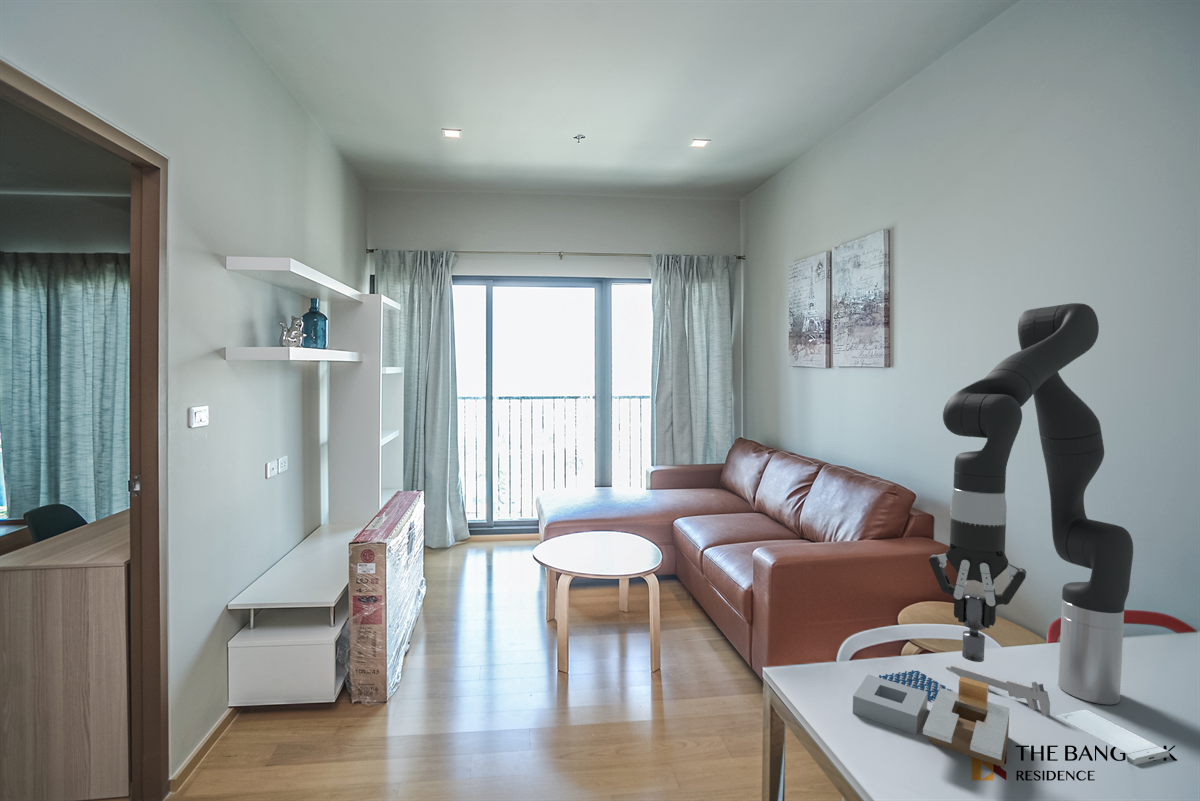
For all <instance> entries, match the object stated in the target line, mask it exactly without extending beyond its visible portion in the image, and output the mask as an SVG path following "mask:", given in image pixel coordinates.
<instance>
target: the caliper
mask: <svg viewBox="0 0 1200 801" xmlns="http://www.w3.org/2000/svg"><path fill="white" fill-rule="evenodd" d="M945 670H949V671H951V673H954V674H955V673H956V675H957V674H958V675H957V676H959V677H965V678H969V679H972V680H976V681H980V682H983V683H987V684H988V686H990V687H994V688H997V689H1001V690H1004V691H1006V692H1008V693H1007V694H1008V696H1009V697H1013V698H1015V699H1025V701H1026V704H1027V705H1028V708H1029V709H1031V710H1033V711H1037V710H1040V713H1041V715H1042V716H1044V717H1049V716H1051V701H1050V698H1049V693H1048V691H1047V690H1045V689H1044V687H1045V686H1044V683H1039V684H1038V683H1037V681H1031V685H1029V684H1026V683H1022V682H1020V681H1019V682H1018V681H1016V680H1011V679H1010V680H1004V679H1000V678H998V677H994V676H991V675H988V674H984V673H982V672H978V671H975V670H972V669H969V668H965V667H961V666H958V665H956V664H953V665H950V666H946V667H945ZM1038 703H1039V704H1038ZM1039 707H1040V708H1039Z"/></svg>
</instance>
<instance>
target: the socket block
mask: <svg viewBox="0 0 1200 801" xmlns="http://www.w3.org/2000/svg"><path fill="white" fill-rule="evenodd" d="M953 713H955V714H959V721H958V724H957V727H956V730H955V734H954V737H953V740H952V743H949V742H946V741H943V740H940V739H937V738H934V737H931V736H928V743H931V744H934V745H937V746H940V747H943V748H945V749H948V750H951V751H955V752H957V753H959V754H963V755H965V756H968V757H972V758H975V759H977V760H981V761H984V762H987V763H989V764H992V765H996V766H998V767H1001V768H1004V765H1005V760H1006V753H1007V747H1008V742H1009V728H1010V716H1009V717H1008V723H1007V729H1006V735H1005V741H1004V747H1003V753H1002V759H1001V760H999V759H996V758H993V757H990V756H987V755H984V754H981V753H978V752H975V751H972V750H970V744H971V740H972V736H973V733H974V729H975V725H976V721H977V720H978V721H981V722H984V723H985V721H986V717H987V715H986V714H982V713H979V712H976V711H972V710H969V709H966V708H962V707H959V706H956V705H955V707H954V710H953Z"/></svg>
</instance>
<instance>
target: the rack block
mask: <svg viewBox="0 0 1200 801" xmlns="http://www.w3.org/2000/svg"><path fill="white" fill-rule="evenodd" d="M927 701H929V700H928V692H926V691H922V690H919V689H916V688H912V687H909V686H905V685H902V684H899V683H895V682H892V681H889V680H885V679H882V678H880V677H879V676H876V675H872V674H867V675H865V678H864V679H863V681H862V682H861V684H860V686H858V688H857V689H856V691H855V692H854V694H853V695H852V714H854V715H858V716H859V717H863V718H866V719H870V720H872V721H876V722H879V723H882V724H885V725H887V726H891V727H894V728H896V729H899V730H902V731H905V732H908V733H910V734H914V735H917V734H918V731H919V729H920V727H921V724H922V722H923V720H924V718H925V715H926V712H927V711H928V702H927Z"/></svg>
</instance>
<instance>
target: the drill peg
mask: <svg viewBox="0 0 1200 801" xmlns="http://www.w3.org/2000/svg"><path fill="white" fill-rule="evenodd" d="M985 604H986V597H985V595H981V594H977V593H969V592H968V593H964V623H962V625H963V626H964V627H966V628H969V630H964V631H962V648H961V649H962V652H961V655H962V657H963V658H964V659H965V660H968V661H971V662H974V663H975V662H976V663H983V662H984V661H985V644H986V643H985V641H986V636H985V635H984V634H983V633H981V632H979V631H983V630H985V629H986V628H984V615H985Z"/></svg>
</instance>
